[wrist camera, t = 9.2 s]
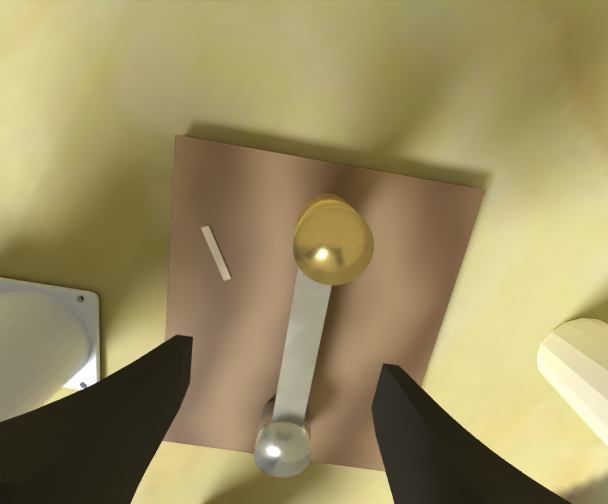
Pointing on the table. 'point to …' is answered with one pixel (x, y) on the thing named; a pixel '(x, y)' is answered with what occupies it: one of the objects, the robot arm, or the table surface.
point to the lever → (309, 325)
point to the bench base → (280, 286)
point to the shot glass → (579, 369)
